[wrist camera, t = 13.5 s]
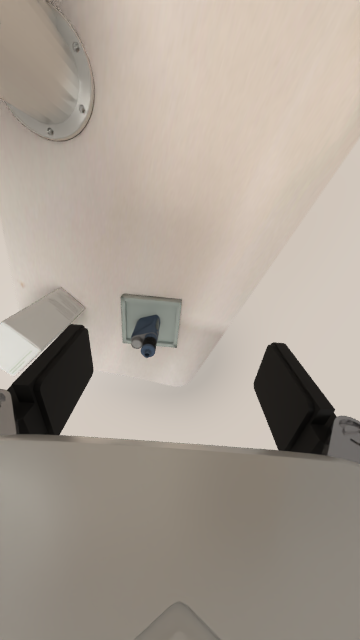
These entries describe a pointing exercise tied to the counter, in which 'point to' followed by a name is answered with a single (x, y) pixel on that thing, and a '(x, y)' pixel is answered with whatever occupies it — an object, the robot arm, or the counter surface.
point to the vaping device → (146, 335)
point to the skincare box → (35, 329)
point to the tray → (148, 306)
